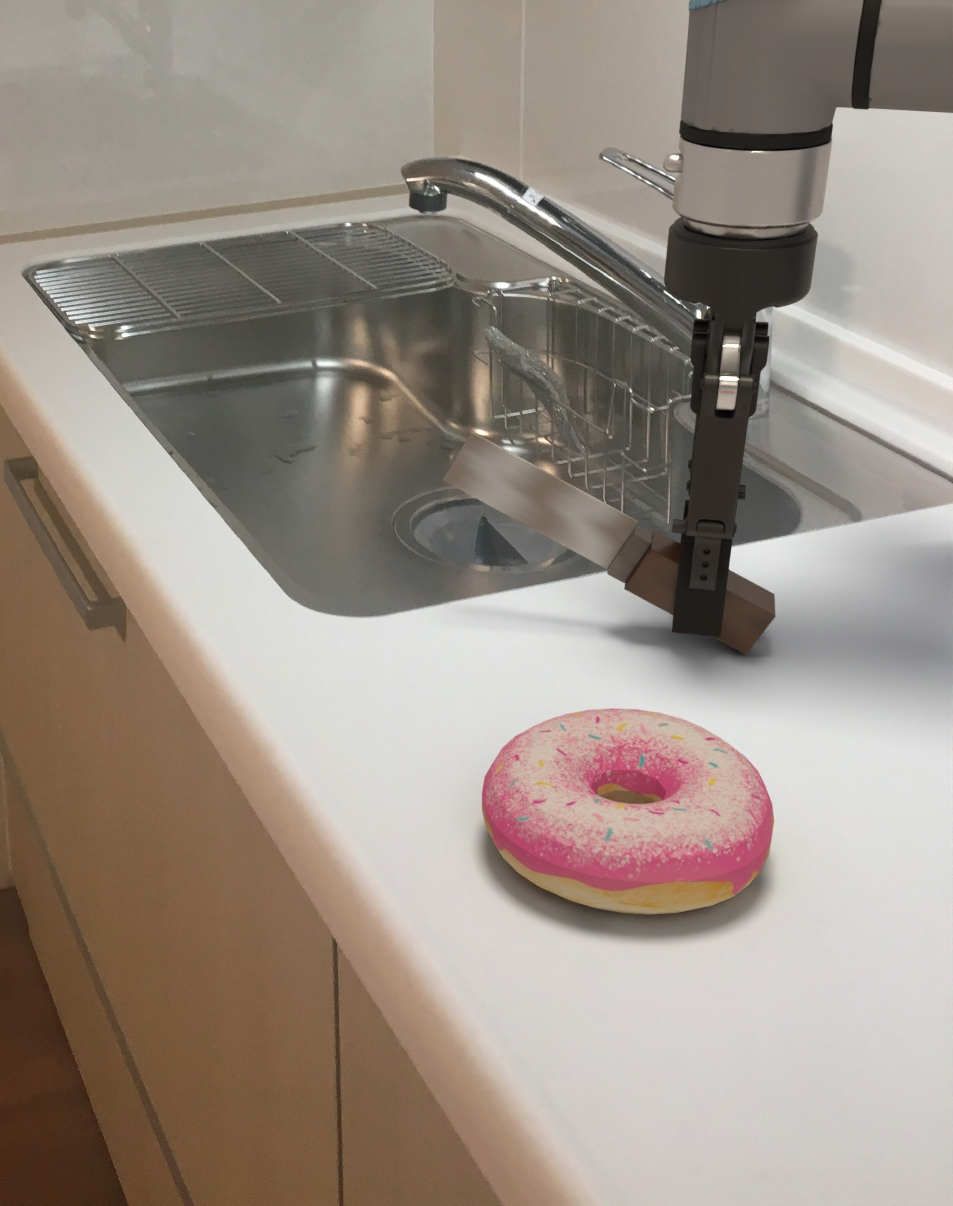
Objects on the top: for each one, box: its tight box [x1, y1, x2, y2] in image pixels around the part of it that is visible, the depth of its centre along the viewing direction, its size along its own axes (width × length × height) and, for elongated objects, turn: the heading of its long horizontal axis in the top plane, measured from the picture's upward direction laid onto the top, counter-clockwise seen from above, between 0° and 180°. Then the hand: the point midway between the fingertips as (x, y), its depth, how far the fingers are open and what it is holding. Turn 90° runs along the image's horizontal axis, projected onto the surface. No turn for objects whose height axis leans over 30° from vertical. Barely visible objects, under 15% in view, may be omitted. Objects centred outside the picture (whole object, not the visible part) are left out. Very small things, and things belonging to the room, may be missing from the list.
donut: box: [481, 708, 775, 915], centre depth 78 cm, size 14×13×5 cm
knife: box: [442, 431, 776, 656], centre depth 97 cm, size 20×3×4 cm, turn 73°
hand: (696, 617), depth 97 cm, fingers closed on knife, 3 cm apart
